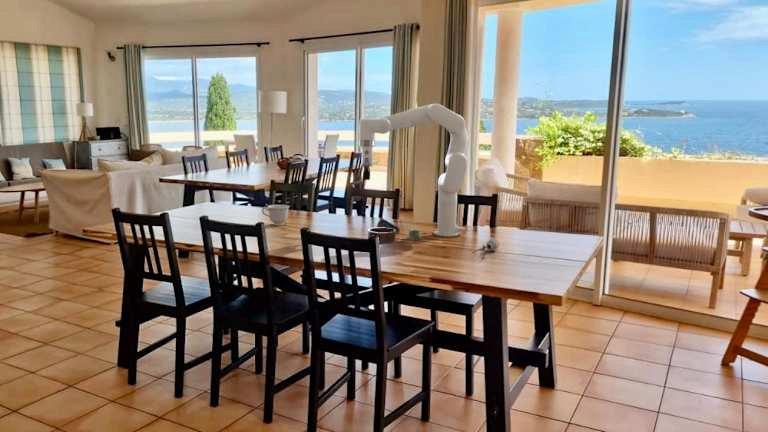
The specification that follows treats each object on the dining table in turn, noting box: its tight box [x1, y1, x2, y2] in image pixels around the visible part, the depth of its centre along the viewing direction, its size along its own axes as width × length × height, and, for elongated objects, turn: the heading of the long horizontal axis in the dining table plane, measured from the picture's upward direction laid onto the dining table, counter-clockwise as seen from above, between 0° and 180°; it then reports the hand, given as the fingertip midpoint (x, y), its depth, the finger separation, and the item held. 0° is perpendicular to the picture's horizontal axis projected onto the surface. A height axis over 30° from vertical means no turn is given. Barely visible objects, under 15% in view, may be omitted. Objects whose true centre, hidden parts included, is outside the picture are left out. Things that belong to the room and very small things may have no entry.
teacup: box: [261, 204, 290, 226], centre depth 314 cm, size 12×15×10 cm
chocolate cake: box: [376, 217, 401, 234], centre depth 300 cm, size 10×7×12 cm
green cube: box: [408, 228, 420, 241], centre depth 284 cm, size 4×4×4 cm
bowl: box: [367, 227, 397, 244], centre depth 279 cm, size 13×13×5 cm
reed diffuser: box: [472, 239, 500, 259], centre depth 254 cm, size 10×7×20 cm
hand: (366, 178), depth 286 cm, fingers open, 9 cm apart
